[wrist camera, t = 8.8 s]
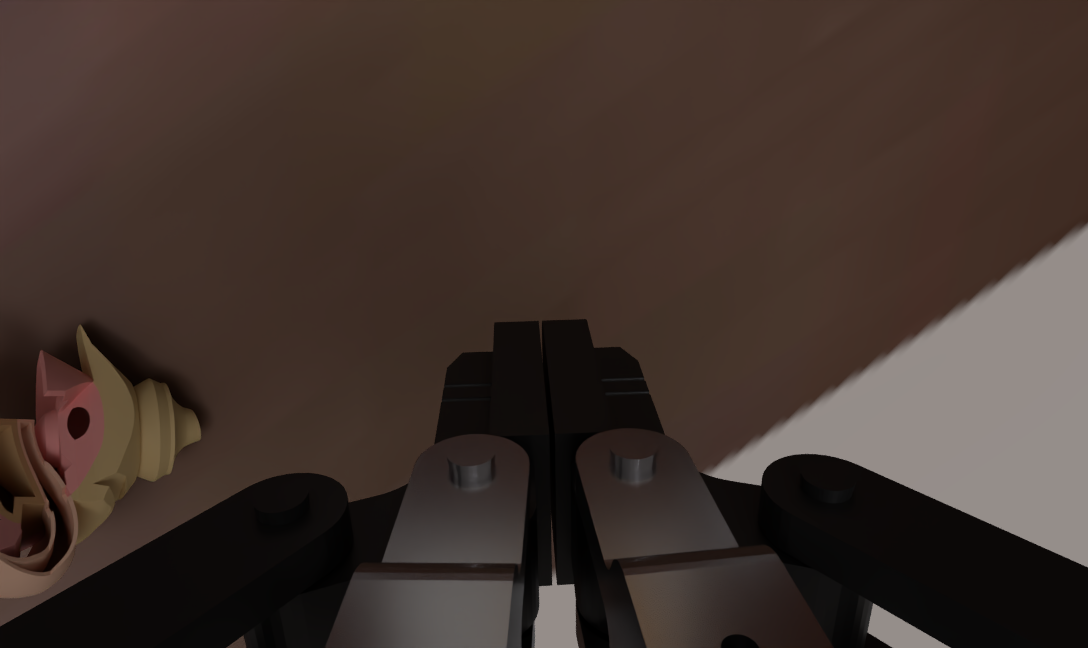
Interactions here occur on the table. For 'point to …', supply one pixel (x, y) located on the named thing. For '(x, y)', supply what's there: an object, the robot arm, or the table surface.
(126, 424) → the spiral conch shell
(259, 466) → the table surface
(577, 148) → the table surface
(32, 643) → the robot arm
